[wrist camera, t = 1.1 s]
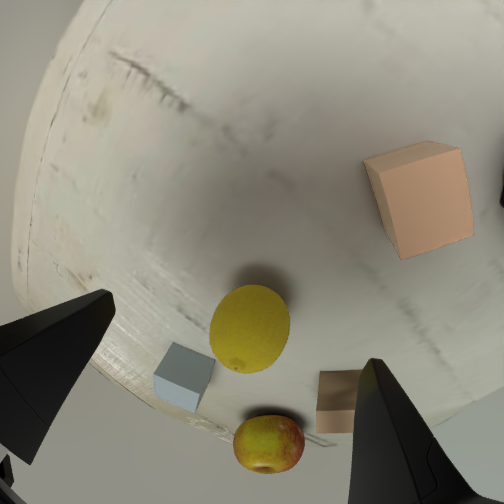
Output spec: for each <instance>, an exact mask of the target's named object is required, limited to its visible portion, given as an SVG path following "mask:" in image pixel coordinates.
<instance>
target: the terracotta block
mask: <svg viewBox="0 0 504 504" xmlns="http://www.w3.org/2000/svg"><path fill="white" fill-rule="evenodd" d="M363 161H364V164H365V167H366V170H367V173H368V176H369V179H370V182H371V185H372V188H373V191H374V194H375V198H376V201H377V204H378V208H379V211H380V215H381V218H382V222H383V226H384V229H385V231H386V232H387V234H388V236H389V238H390V240H391V242H392V243H393V245H394V247H395V249H396V251H397V253H398V255H399V257H400V259H401V260H404V259H407V258H410V257H413V256H416V255H419V254H422V253H425V252H428V251H431V250H434V249H437V248H440V247H442V246H445V245H448V244H451V243H454V242H456V241H459V240H462V239H465V238H467V237H470V236H473V235H474V227H473V217H472V209H471V201H470V194H469V188H468V183H467V177H466V172H465V167H464V163H463V158H462V154H461V150H460V148H457V147H453V146H448V145H444V144H440V143H435V142H431V141H425V142H421V143H418V144H415V145H411V146H408V147H404V148H401V149H398V150H395V151H391V152H388V153H385V154H382V155H379V156H376V157H372V158H369V159H366V160H363Z"/></svg>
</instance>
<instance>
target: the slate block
mask: <svg viewBox="0 0 504 504" xmlns="http://www.w3.org/2000/svg"><path fill="white" fill-rule="evenodd" d="M214 362H215V359H213V358H210V357H208V356H205V355H203V354H200V353H198V352H195V351H193V350H190V349H188V348H186V347H183V346H181V345H179V344H176V343H174V342H173V344H172V345H171V347H170V348H169V350H168V352H167V353H166V355H165V356H164V358H163V360H162V361H161V363H160V364H159V366H158V367H157V369H156V371H155V372H154V395H155V396H156V397H158V398H160V399H162V400H165V401H167V402H169V403H171V404H173V405H176V406H178V407H180V408H183V409H185V410H187V411H190V412H192V413H195V412H196V410H197V408H198V406H199V403H200V401H201V399H202V397H203V394H204V392H205V390H206V388H207V385H208V383H209V380H210V377H211V373H212V369H213V366H214Z"/></svg>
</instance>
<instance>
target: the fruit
mask: <svg viewBox="0 0 504 504" xmlns="http://www.w3.org/2000/svg"><path fill="white" fill-rule="evenodd" d="M304 446H305V439H304V434H303V431H302V429H301V428H300V426H299V425H298V424H297V423H296V422H295V421H293V420H292V419H290V418H288V417H284V416H279V415H265V416H259V417H254V418H251V419H248V420H246V421H245V422H243V423H242V424H241V425H240V426H239V427H238V429H237V430H236V432H235V436H234V441H233V447H234V453H235V456H236V458H237V460H238V461H239V463H240V464H241V465H242V466H243V467H245V468H247V469H248V470H251V471H254V472H258V473H264V474H272V473H279V472H283V471H287V470H289V469H291V468H292V467H293V466H295V464H297V462H298V461H299V459H300V458H301V456H302V453H303V450H304Z"/></svg>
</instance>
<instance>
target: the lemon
mask: <svg viewBox="0 0 504 504" xmlns="http://www.w3.org/2000/svg"><path fill="white" fill-rule="evenodd" d="M289 330H290V317H289V313H288V309H287V306H286V304H285V303H284V301H283V299H282V298H281V297H280V296H279V295H278V294H277V293H276V292H274V291H273V290H271V289H270V288H267V287H265V286H261V285H255V284H254V285H245V286H242V287H238V288H236V289H235V290H233V291H231V292H230V293H228V294H227V295H226V296H225V297H224V299H223V300H222V301H221V302H220V303H219V305H218V306H217V308H216V310H215V312H214V315H213V318H212V321H211V325H210V345H211V348H212V351H213V353H214V355H215V356H216V358H217V359H218V360H219V361H220V362H221V363H222V364H223V365H224V366H225V367H227V368H228V369H231V370H233V371H236V372H239V373H255V372H259V371H262V370H264V369H266V368H268V367H269V366H271V365H272V364H273V363H274V362H275V361H276V360H277V359H278V357H279V356H280V354H281V353H282V351H283V349H284V347H285V344H286V342H287V340H288V336H289Z"/></svg>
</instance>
